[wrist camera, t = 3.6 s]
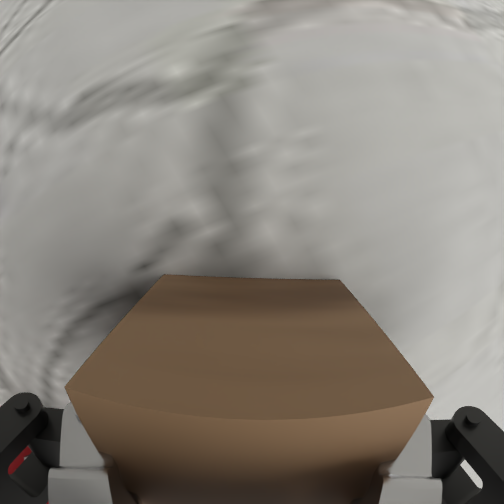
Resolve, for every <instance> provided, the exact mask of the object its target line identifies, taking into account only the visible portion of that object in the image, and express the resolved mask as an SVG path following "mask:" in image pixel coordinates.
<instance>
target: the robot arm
mask: <svg viewBox="0 0 504 504" xmlns="http://www.w3.org/2000/svg"><path fill="white" fill-rule="evenodd" d="M27 446H28V447H29V448H30V450H31V451H32V452H31V453H30V454H29V456H28V457H27V458H26V459H25V460H24V461H23V462H22V463H21V465H20V466H19V467H18V468H17V469H16V470H15V471H14V472H13V473H12V474H8V468H9V466H10V464H11V463H12V462H13V461H14V460H15V459H16V458H17V456H18V455H19V454H20V453H21V452H22V451H23V450H24V449H25V448H26V447H27ZM464 460H466V461H467V462H468V463H469V465H470V466H471V467H472V468H473V469H474V471H475V472H476V473H477V474H478V476H479V477H480V478H481V479H482V482H483V487H482V489H481V488H478V487H477V486H476V485H475V483H474V482H473V481H472V480H471V478H470V477H469V476H468V474H467V473H466V472H465V471H464V469H463V468H462V467H461V466H460V464H461V463H462V462H463V461H464ZM48 501H49V504H142V501H141V499H140V497H139V496H138V495H137V493H133V492H130V491H127V490H126V489H125V487H124V486H123V483H122V481H121V478H120V474H119V469H118V465H117V464H116V462H115V460H114V459H113V457H112V455H109V454H106V453H103V452H100V451H97V449H96V448H95V446H94V444H93V443H92V441H91V439H90V437H89V436H88V434H87V432H86V430H85V428H84V427H83V425H82V423H81V421H80V419H79V417H78V415H77V413H76V411H75V409H74V407H73V405H72V403H71V402H70V403H69V404H68V405H67V406H66V407H65V409H54V408H44V407H43V405H42V403H41V401H40V399H39V398H38V397H37V396H36V395H34V394H32V393H19V394H16V395H14V396H13V397H11V398H10V399H9V400H8V401H7V402H6V403H4V404H3V405H2V406H1V407H0V504H47V502H48ZM350 504H504V432H503V431H502V430H501V429H500V428H499V427H498V426H497V425H496V424H495V423H494V422H493V421H492V420H491V419H490V418H489V417H488V416H487V415H486V414H485V413H484V412H483V411H482V410H480V409H478V408H476V407H472V406H465V407H461V408H459V409H458V410H457V411H456V412H455V414H454V416H453V417H452V419H451V420H430V419H429V418H428V416H427V415H426V414H425V415H424V417H423V418H422V420H421V422H420V424H419V425H418V427H417V429H416V430H415V432H414V434H413V435H412V437H411V438H410V440H409V441H408V443H407V445H406V446H405V448H404V449H403V451H402V452H401V454H400V455H399V456H398V458H397V459H393V460H390V461H386V462H382V463H380V464H379V466H378V467H377V469H376V470H375V471H374V473H373V476H372V480H371V484H370V486H369V489H368V491H367V493H366V494H365V496H364V497H362V498H358V499H353V500H352V501H351V502H350Z"/></svg>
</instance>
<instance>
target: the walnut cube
mask: <svg viewBox="0 0 504 504" xmlns="http://www.w3.org/2000/svg"><path fill="white" fill-rule="evenodd" d="M65 389H66V392H67V394H68V396H69V398H70V401H71V403H72V405H73V407H74V409H75V411H76V413H77V415H78V417H79V419H80V421H81V423H82V425H83V427H84V428H85V430H86V432H87V434H88V436H89V437H90V439H91V441H92V443H93V444H94V446H95V448H96V449H97V451H100V452H103V453H106V454H109V455H112V457H113V459H114V460H115V462H116V464H117V465H118V469H119V474H120V478H121V481H122V483H123V486H124V487H125V489H126V490H127V491H130V492H133V493H137V495H138V496H139V497H140V499H141V501H142V504H350V502H351V501H352V500H353V499H358V498H362V497H364V496H365V494H366V493H367V491H368V489H369V486H370V484H371V480H372V476H373V473H374V471H375V470H376V469H377V467H378V466H379V464H380V463H382V462H386V461H390V460H393V459H397V458H398V456H399V455H400V454H401V452H402V451H403V449H404V448H405V446H406V445H407V443H408V441H409V440H410V438H411V437H412V435H413V434H414V432H415V430H416V429H417V427H418V425H419V424H420V422H421V420H422V418H423V417H424V415H425V413H426V411H427V409H428V407H429V406H430V404H431V402H432V400H433V398H434V396H433V395H432V394H431V392H430V391H429V390H428V388H427V387H426V386H425V384H424V383H423V381H422V380H421V379H420V378H419V376H418V375H417V374H416V372H415V371H414V370H413V368H412V367H411V366H410V364H409V363H408V362H407V361H406V359H405V358H404V357H403V355H402V354H401V353H400V352H399V350H398V349H397V348H396V347H395V345H394V344H393V343H392V342H391V340H390V339H389V338H388V337H387V335H386V334H385V333H384V332H383V330H382V329H381V328H380V327H379V326H378V324H377V323H376V322H375V321H374V319H373V318H372V317H371V316H370V315H369V313H368V312H367V311H366V310H365V309H364V307H363V306H362V305H361V304H360V303H359V302H358V300H357V299H356V298H355V297H354V296H353V294H352V293H351V292H350V291H349V290H348V289H347V287H346V286H345V285H344V284H343V283H342V282H341V281H340V280H313V279H266V278H234V277H208V276H186V275H166V274H164V275H163V276H162V277H161V278H160V279H159V280H158V281H157V282H156V283H155V284H154V285H153V286H152V287H151V288H150V289H149V291H148V292H147V293H146V294H145V295H144V296H143V297H142V298H141V299H140V300H139V301H138V302H137V303H136V305H135V306H134V307H133V308H132V309H131V310H130V311H129V312H128V313H127V314H126V316H125V317H124V318H123V319H122V320H121V321H120V322H119V323H118V324H117V326H116V327H115V328H114V329H113V330H112V331H111V332H110V334H109V335H108V336H107V337H106V338H105V339H104V340H103V342H102V343H101V344H100V345H99V346H98V347H97V348H96V350H95V351H94V352H93V353H92V354H91V356H90V357H89V358H88V359H87V360H86V361H85V363H84V364H83V365H82V366H81V367H80V369H79V370H78V371H77V372H76V373H75V375H74V376H73V377H72V378H71V380H70V381H69V382H68V383H67V384H66V386H65Z"/></svg>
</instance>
